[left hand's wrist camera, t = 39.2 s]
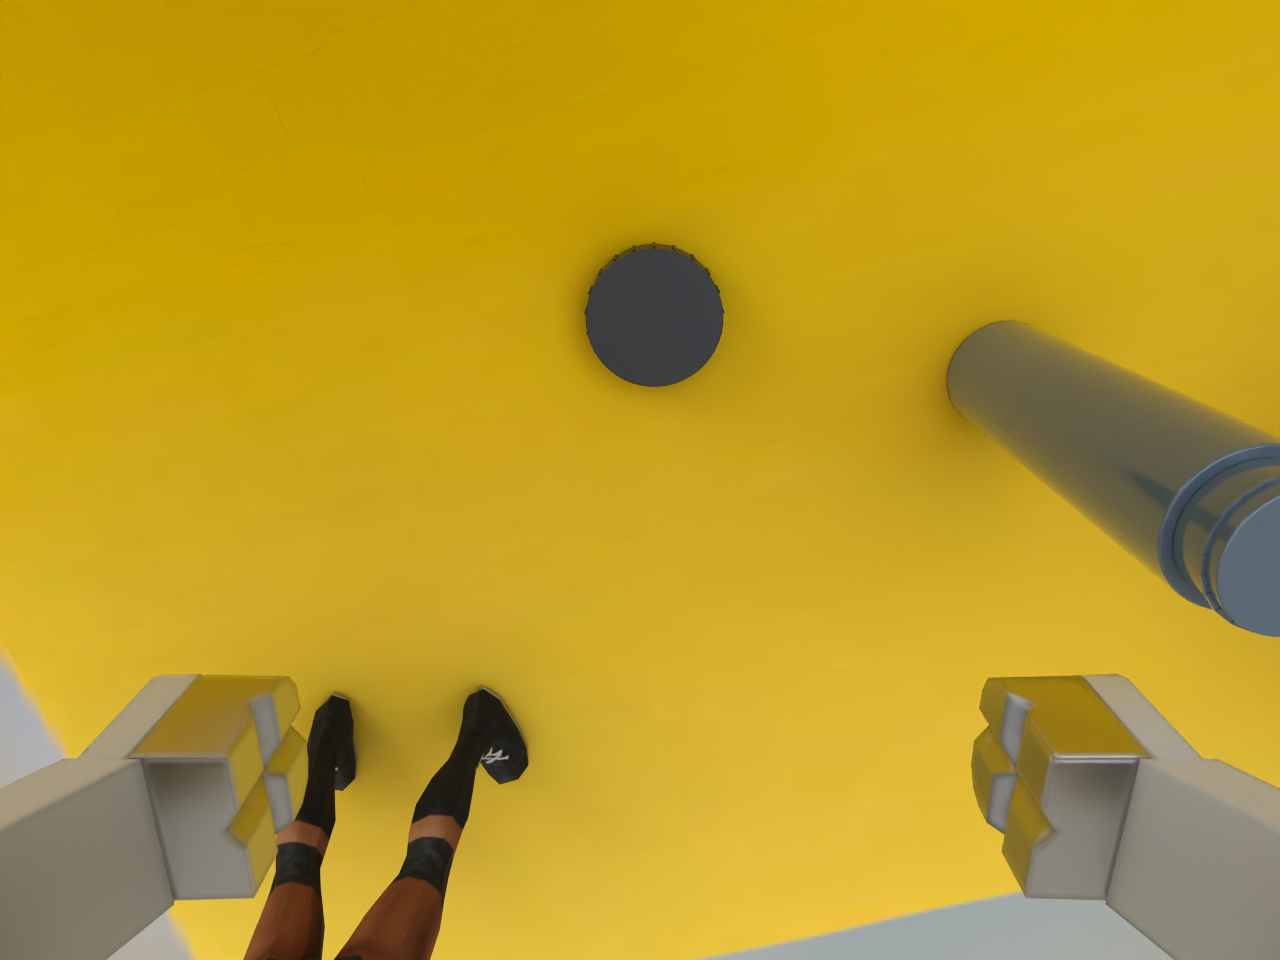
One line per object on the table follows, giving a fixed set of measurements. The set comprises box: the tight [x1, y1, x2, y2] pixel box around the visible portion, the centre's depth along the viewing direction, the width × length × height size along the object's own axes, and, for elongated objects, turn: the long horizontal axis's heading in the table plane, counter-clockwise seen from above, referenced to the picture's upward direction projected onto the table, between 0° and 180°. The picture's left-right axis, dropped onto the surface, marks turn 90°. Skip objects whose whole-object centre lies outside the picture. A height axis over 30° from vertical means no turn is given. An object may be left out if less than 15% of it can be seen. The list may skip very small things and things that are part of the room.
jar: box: [947, 321, 1280, 637], centre depth 31 cm, size 5×5×20 cm
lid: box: [585, 242, 724, 387], centre depth 38 cm, size 6×6×2 cm
